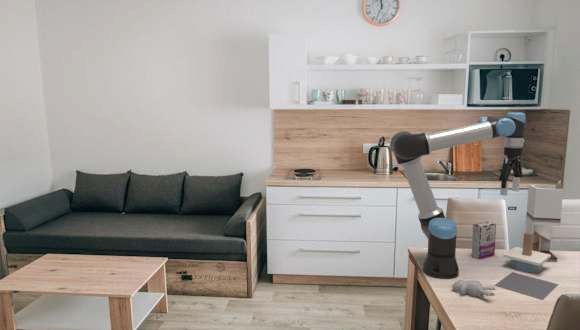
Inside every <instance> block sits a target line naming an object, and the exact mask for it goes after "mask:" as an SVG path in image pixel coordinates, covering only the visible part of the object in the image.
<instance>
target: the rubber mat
mask: <svg viewBox="0 0 580 330" xmlns="http://www.w3.org/2000/svg"><path fill="white" fill-rule="evenodd" d="M559 285H560V284H558V283H555V282H552V281H547V280H543V279H540V278H537V277H532V276H529V275H526V274H522V273H518V272H513V271H511V273H509V274H508V275H506V276H505V277H504V278H502V279H501V280H499V281H498V282H497V283H495V284H494V287H498V288H502V289H504V290H507V291H510V292H515V293H516V294H517V293H518V294H520V295H525V296H528V297H532V298H534V299H536V300H537V299H538V300H541V301H543V300H545V299H546V298H547V297H548V295H550V294H551V293H552V292H553V291H554V290H555V289H556V288H557V287H558V286H559Z"/></svg>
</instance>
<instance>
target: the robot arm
mask: <svg viewBox="0 0 580 330" xmlns="http://www.w3.org/2000/svg"><path fill="white" fill-rule="evenodd" d="M525 127H526V114H525V113H524V112H518V111H517V112H509V111H508V112H507V113H506V116H480V117H479V118H478V120H477V123H473V124H468V125H465V126H460V127H455V128H450V129H446V130H442V131H437V132H431V133H426V132H422V133H411V132H409V131H407V130H406V131H404V130H403V131H399V132H396V133H395V134H394V135H393V136H392V138H391V140H390V144H389V145H390V149H391V152H393V155H394V158H395V160H396V164H397V165H400V166H401V167H402V169H403V171H404V174H405V177H406V179H407V183H408V185H409V187H410V190H411V194H412V196H413V198H414V201H415V203H416V206H417V209H418V212H419V213H418V215H417V219H418V220H419V224H420V229H421V231H422V233H423V234H424V235H425V237H426V238H427V254H426V257H425V259H424V262H423V265H422V271H423V273H425V275H427V276H430V277H433V278H437V279H441V280H442V279H446V280H447V279H448V280H449V279H455V278H457V277H458V276H459V273H460V269H459V265H458V262H457V258H456V253H457V252H456V250H457V234H458V228H457V223H456V222H454V220H451V219H449V218H446V216H445V213H444V210H443V208H441V207H439V206H438V204H437V201H436V198H435V196H434V193H433V190H432V187H431V185H430V183H429V179H428V178H427V175H426V172H425V169H424V167H423V164H422V161H421V159H422V157H423V156H427V155H430V154H431V153H432V152H435V151H439V150H443V149H444V150H445V149H448V148H453V147H456V146H457V147H458V146H462V145H467V144H471V143H475V142H481V141H485V140H489V139H494V138H500V137H502V138H504V143H503V145H504V148H503V156H506V158H504V159H503V163H502V166H501V167H502V168H501V171H500V174H499V178H498V181H501V182H500V193H499V195H500V196H504V197H507V196H508V189H509V181H508V180H509V177H510V175H511V173H513V177H512V185H511V186H512V187H511V188H512V189H511V191H512V192H517V193H518V192H519V191H520V183H521V182H520V180H521V178H523V167H522V156H523V155H524V154H523V152H524V148H523V146H524V143H525V141H526V140H525V139H524V138H525Z"/></svg>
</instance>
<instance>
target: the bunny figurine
mask: <svg viewBox="0 0 580 330" xmlns="http://www.w3.org/2000/svg"><path fill="white" fill-rule="evenodd" d="M451 290H454V292H456V293H458V294H461V295H468V296H471V297H475V298H478V297H479V296H481V295H485V296H487V297H491V296H492V294H493V292H492V291H496V286H493V285H490V286H489V285H488V286H483V285H482V282H481V281H478V280H466V281H465V280H462V279H460V280H457V281H455V282H454V283H452V285H451Z"/></svg>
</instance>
